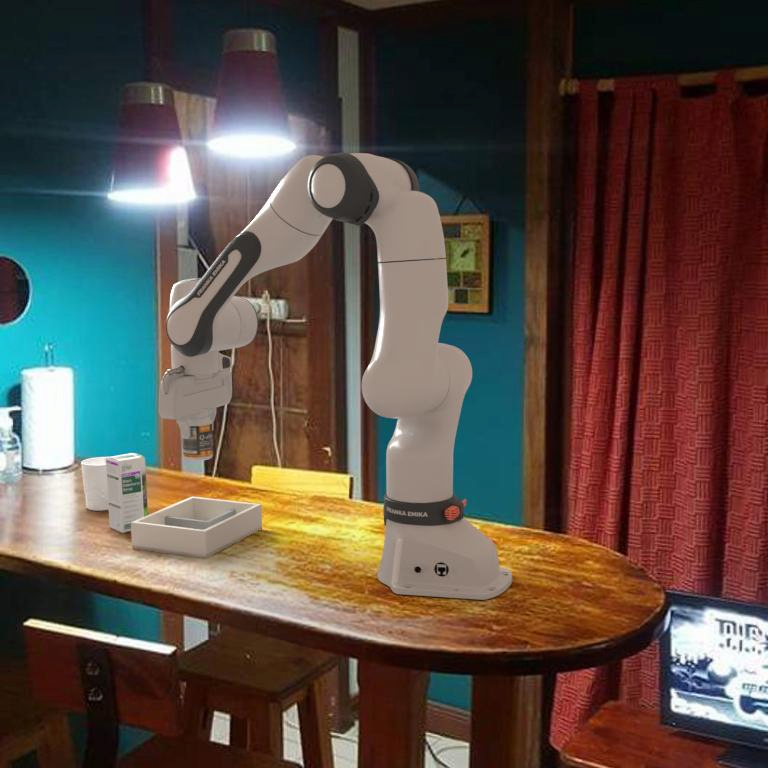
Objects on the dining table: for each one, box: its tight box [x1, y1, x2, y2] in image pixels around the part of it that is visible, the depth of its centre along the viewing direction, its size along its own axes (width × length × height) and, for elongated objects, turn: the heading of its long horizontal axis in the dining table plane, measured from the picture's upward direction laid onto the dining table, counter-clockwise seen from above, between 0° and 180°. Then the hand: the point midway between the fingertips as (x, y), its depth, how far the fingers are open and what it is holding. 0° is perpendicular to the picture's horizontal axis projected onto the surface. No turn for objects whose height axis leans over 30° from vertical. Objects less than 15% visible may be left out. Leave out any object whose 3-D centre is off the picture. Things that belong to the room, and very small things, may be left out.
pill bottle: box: [181, 408, 214, 462], centre depth 199 cm, size 6×6×10 cm
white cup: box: [81, 456, 109, 512], centre depth 220 cm, size 8×8×10 cm
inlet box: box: [130, 496, 263, 559], centre depth 197 cm, size 16×20×5 cm
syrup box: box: [105, 452, 149, 534], centre depth 203 cm, size 6×6×14 cm
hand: (197, 434), depth 199 cm, fingers closed on pill bottle, 6 cm apart
